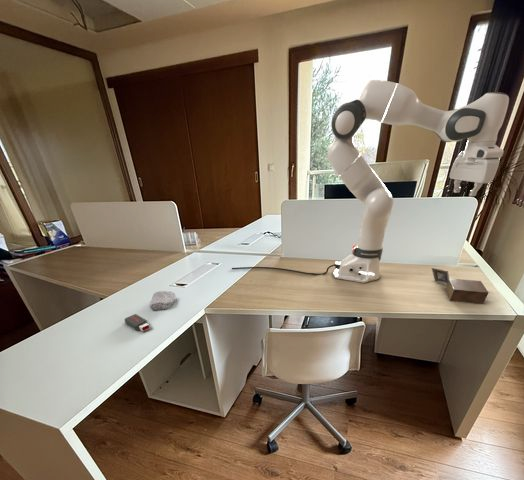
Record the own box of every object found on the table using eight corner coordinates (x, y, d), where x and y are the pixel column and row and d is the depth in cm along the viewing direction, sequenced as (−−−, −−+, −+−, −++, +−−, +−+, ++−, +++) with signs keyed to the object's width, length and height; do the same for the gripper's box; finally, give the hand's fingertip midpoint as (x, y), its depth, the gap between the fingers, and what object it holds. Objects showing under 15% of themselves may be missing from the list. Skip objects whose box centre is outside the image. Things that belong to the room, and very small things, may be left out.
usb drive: (137, 318, 117) (135, 312, 116) (152, 327, 111) (150, 321, 109) (125, 323, 114) (123, 317, 113) (140, 333, 108) (138, 327, 106)
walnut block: (449, 300, 118) (454, 289, 115) (445, 289, 127) (449, 278, 124) (483, 304, 114) (488, 292, 111) (476, 291, 123) (481, 280, 120)
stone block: (177, 300, 133) (155, 298, 131) (177, 291, 130) (154, 288, 129) (173, 313, 124) (149, 311, 122) (172, 303, 121) (148, 301, 119)
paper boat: (457, 279, 131) (457, 281, 124) (445, 289, 135) (444, 292, 128) (438, 262, 133) (437, 262, 126) (426, 272, 137) (424, 273, 130)
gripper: (452, 151, 112) (440, 191, 120) (490, 152, 95) (473, 198, 103) (467, 150, 112) (454, 190, 120) (507, 151, 96) (490, 197, 104)
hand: (463, 194), depth 112 cm, fingers open, 8 cm apart
